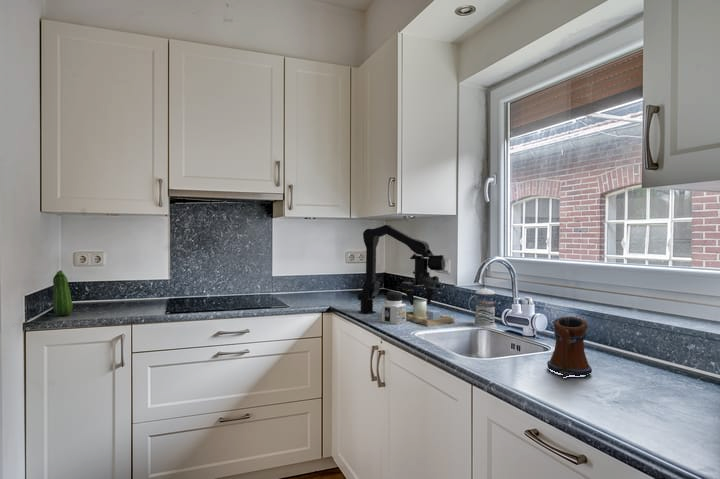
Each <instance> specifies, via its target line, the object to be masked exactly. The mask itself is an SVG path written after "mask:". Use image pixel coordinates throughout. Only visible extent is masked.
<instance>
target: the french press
mask: <svg viewBox="0 0 720 479" xmlns="http://www.w3.org/2000/svg"><path fill="white" fill-rule="evenodd" d="M487 269H489V266H488V267H487V268H486V269H485V268H484V270H485V276H484V277H485V279H484V280H485V281H484V283H485V284H484V288H480V289H478V290H475V294H474V295H472V296H471V297H470V298H469V300H468V303H470V302H471V300H472V299H473V298H475V299H476V300H477V294H478V295H483V296H484V299H486V296H487V295H488V296H494V295H495V294H496V292H495V291H494V290H492V289H489V288H487V286H486V285H487V284H486V283H487V277H486V276H487ZM476 303H477V304H475V311H474V310H473V309H471V307H470V305H468V307H469V311H470V312H472V313H473V314H474V322H473V324H472V325H473V327H478V328H485V329H491V328H492V329H493V328H497V327H498V326H497V324H496V323H495V318H496V317H495V311H496V310H495V305H494V304H495V302H494V301H490V300H477V301H476Z"/></svg>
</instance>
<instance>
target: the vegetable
mask: <svg viewBox="0 0 720 479" xmlns="http://www.w3.org/2000/svg"><path fill="white" fill-rule="evenodd" d="M52 284H53V295H52V296H53V298H52V307H53V308H52V310H53V313H54V314H55V315H56V316H58V317H67V316H69V315H71V313H72V311H73V307H74V306H73V300H72V296H71V291H70V287H69V286H70V285H69V281H68V278H67V276H66V275H65V273H64V272H63V270H58V271H56V274H55V275H54V276H53V279H52Z"/></svg>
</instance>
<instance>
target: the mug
mask: <svg viewBox="0 0 720 479" xmlns="http://www.w3.org/2000/svg"><path fill="white" fill-rule="evenodd" d="M552 323H553V328H555V329H554V333H553V335H554V337H555V343H554V344H555V346H554V351H553V352H552V355H551V358H550V360H547V362H546V363H547V364H546V365H547V369H548V368H549V369H551V370H553V371H555V372H558V373H561V374H563V375H562V376H561V377H566V376H569V375H575V376H580V375H587V374H589V373H591V374H592V372H593V368H592V367H591V365H590V364H589V362H588V358H587V356H586V353H585V352H586V351H585V342H584V341H585V340H586V338H587V335H586V334H587V333H586V331H587V329H588V326H589V325H588V323H587V321H585V320H583V319H582V318H579V317H577V316H576V317H575V316H562V317H558V318H556V319H555V320H554V321H552Z"/></svg>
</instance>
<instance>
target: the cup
mask: <svg viewBox="0 0 720 479" xmlns="http://www.w3.org/2000/svg"><path fill="white" fill-rule="evenodd" d="M427 304H428V302H427V299H413V305H412V312H413V316H416V317H419V318H424V317H426V311H427Z"/></svg>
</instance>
